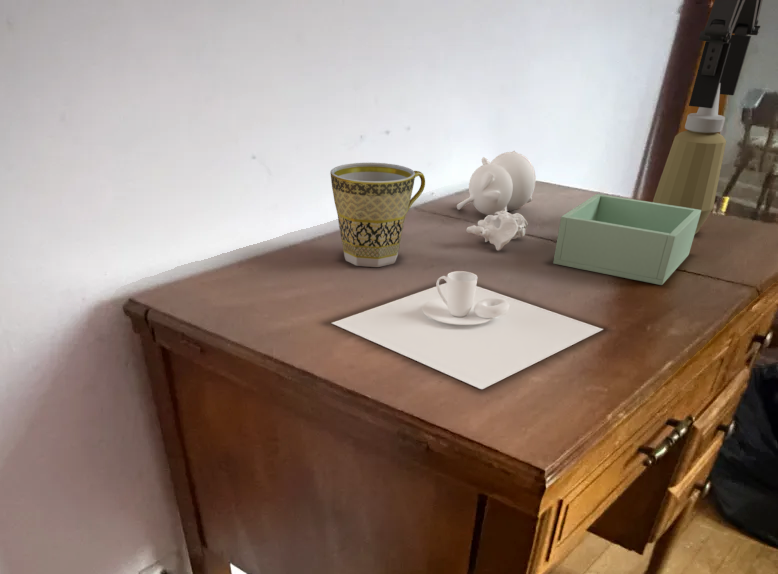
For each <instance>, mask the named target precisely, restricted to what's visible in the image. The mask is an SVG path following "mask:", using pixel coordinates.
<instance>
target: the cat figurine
mask: <svg viewBox="0 0 778 574" xmlns="http://www.w3.org/2000/svg"><path fill="white" fill-rule="evenodd" d="M481 163H482V165H480V166H479V167H477V168H476V169H475V170H474V171H473V173H472V174H471V176H470V179H469V182H468V194H469V197H467V198H466V199H464V200H462V201H460V202H459V203H457V204H456V208H457V210H458V211H459V210H461V209H463V208H464V207H466V206H467V205H468V204H470V203H472V205H473V207H474V208H475V209H476V210H477V211H478V212H479V213H480V214H483V215H485V216H488V215H493V216H494V215H495V213H496V212H500V211H501V210H503V211H506V212H508V211H509V212H510V211H516V210H518V209H520V208H522V207H523V206H524V205H526V204H528V203H531V202H532V201H533V198H532V197H533V194H534V191H535V187H536V182H537V181H536V180H537V179H536V177H537V176H536V171H535V168H534V165H533V164H532V162H531V161H530V160H529V158H527V157H526V156H525V155H523V154H522V153H519V152H516V151H515V150H513V151H507V152H502V153H501V154H498V155H497V156H495V158H493V159H492V161H490V160H489V159H488V158H487V157H485V156H483V157H482V158H481Z"/></svg>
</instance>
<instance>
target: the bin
mask: <svg viewBox="0 0 778 574" xmlns="http://www.w3.org/2000/svg"><path fill="white" fill-rule="evenodd" d="M700 214H701V210H698V209H693V208H686V207H680V206H673V205H667V204H660V203H654V202H653V201H646V200H640V199H633V198H628V197H627V198H626V197H621V196H615V195H609V194H603V193H602V194H601V193H596V194H594V195H593V196H591V197H589V198H588V199H587V200H585V201H583V202H581V203H580V204H579V205H577V206H575V207H574V208H572V209H571V210H570V211H568V212H566V213H565V214H563V215H561V217H560V221H559V227H558V233H557V239H556V245H555V250H554V257H553V262H552V263H553V264H554V265H558V266H563V267H568V268H574V269H579V270H583V271H588V272H593V273H599V274H603V275H609V276H612V277H613V276H614V277H618V278H623V279H624V278H625V279H628V280H634V281H638V282H643V283H648V284H652V285H659V286H663V285H664V284H665V283H666V281H667V280H668V279H669V278H670V277H671V276H672V275H673V273H674V272H676V270H677V269H678V268H679V267H680V266H681V265H682V264H683V262H684V261H685V260H686V259H687V258H688V257H689V255H690V253H691V252H690V251H691V248H692V246H693V241H694V238H695V236H696V234H695V231H696V228H697V224H698V221H699V217H700Z"/></svg>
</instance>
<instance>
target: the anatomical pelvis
mask: <svg viewBox="0 0 778 574" xmlns="http://www.w3.org/2000/svg"><path fill="white" fill-rule="evenodd" d="M528 226H529V223H528V221H527V219H526V218H525V217H524V216H523V215H522V214H521V213H519V212H515V213H511V212H510V211H509V212H508V211H507V212H506V211H503V210H501V211H500V212H496V213H495V214H494V215H485V217H484V219H479V220H478V221H477V225H475V224H473V225H471V226H468V227H466V233H467V234H473V235H476V236H479V237H483V239H484V242H485V243H488V242H489V244H491V245H494V247H495V250H496V251H497V252H499V251H501V250H502V249H503V248H504V247H505V245H507V244H508V243H509V242H511V240H516V239H517V238H519V237H522V238H523V237H525V235H526V230H527V228H528Z"/></svg>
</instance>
